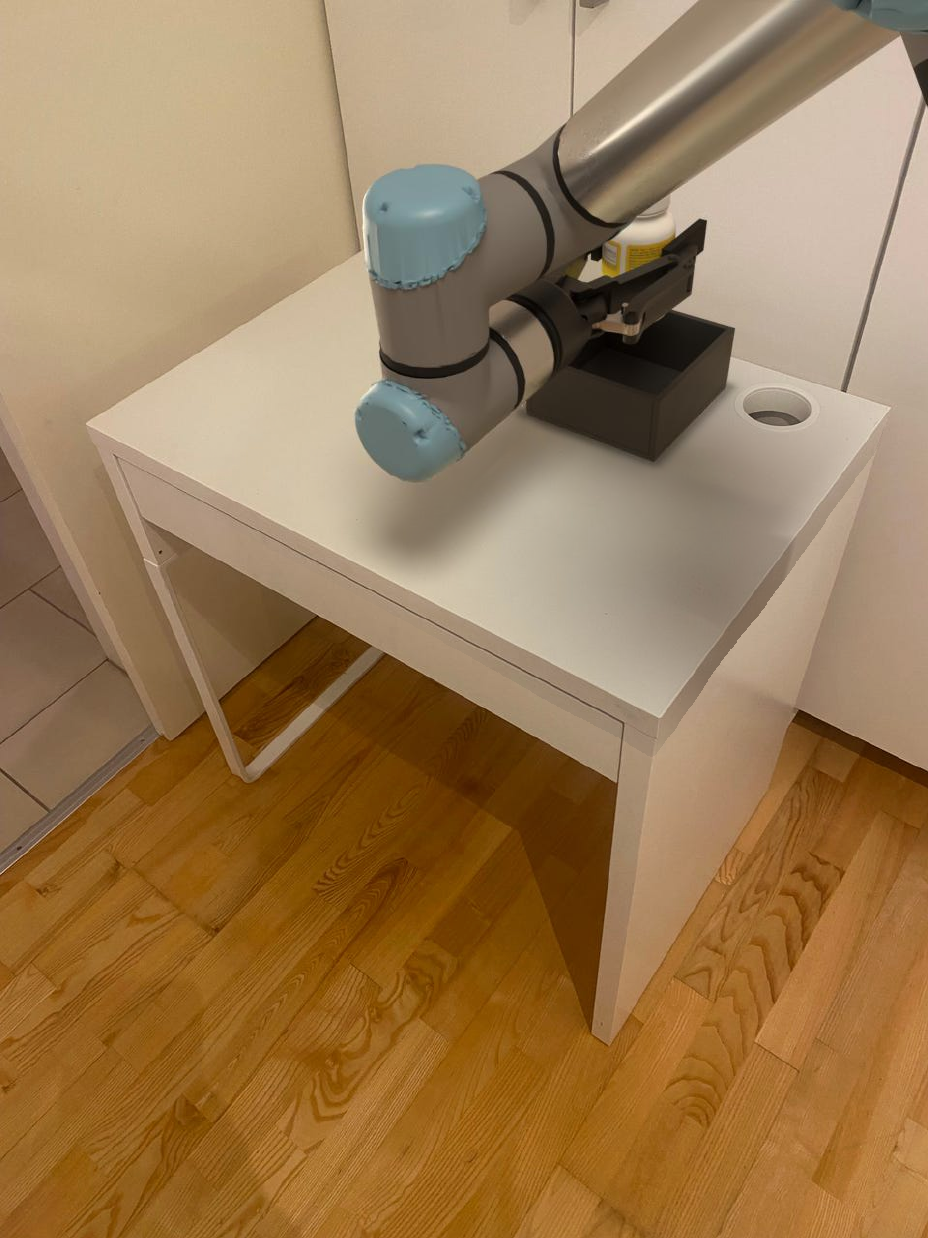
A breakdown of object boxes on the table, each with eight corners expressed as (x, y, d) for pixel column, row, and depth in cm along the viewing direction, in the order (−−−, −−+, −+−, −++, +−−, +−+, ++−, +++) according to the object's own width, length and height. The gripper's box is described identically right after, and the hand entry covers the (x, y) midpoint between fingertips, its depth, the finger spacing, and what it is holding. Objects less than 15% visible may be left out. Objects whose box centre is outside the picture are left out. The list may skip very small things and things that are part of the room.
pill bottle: (679, 302, 88) (692, 180, 80) (651, 334, 84) (661, 210, 76) (617, 288, 90) (624, 168, 82) (587, 319, 87) (591, 197, 79)
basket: (726, 387, 94) (735, 327, 90) (653, 461, 87) (659, 401, 82) (602, 347, 101) (605, 289, 96) (525, 413, 94) (524, 354, 89)
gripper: (425, 351, 81) (575, 241, 93) (622, 423, 72) (759, 291, 84) (416, 266, 75) (576, 161, 87) (629, 333, 66) (774, 206, 78)
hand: (666, 225), depth 85 cm, fingers closed on pill bottle, 6 cm apart
